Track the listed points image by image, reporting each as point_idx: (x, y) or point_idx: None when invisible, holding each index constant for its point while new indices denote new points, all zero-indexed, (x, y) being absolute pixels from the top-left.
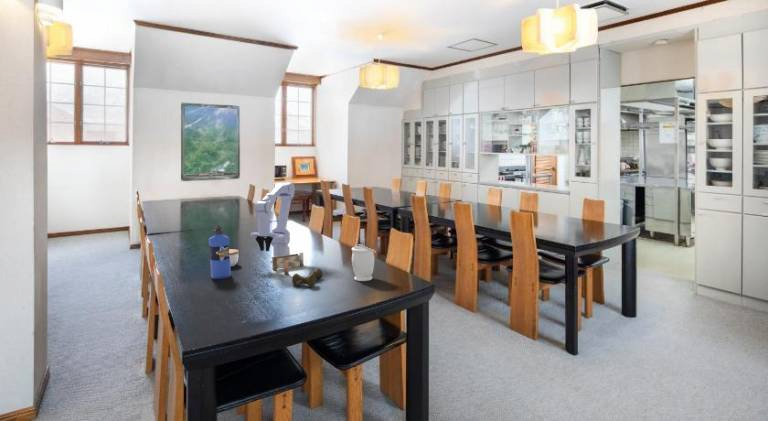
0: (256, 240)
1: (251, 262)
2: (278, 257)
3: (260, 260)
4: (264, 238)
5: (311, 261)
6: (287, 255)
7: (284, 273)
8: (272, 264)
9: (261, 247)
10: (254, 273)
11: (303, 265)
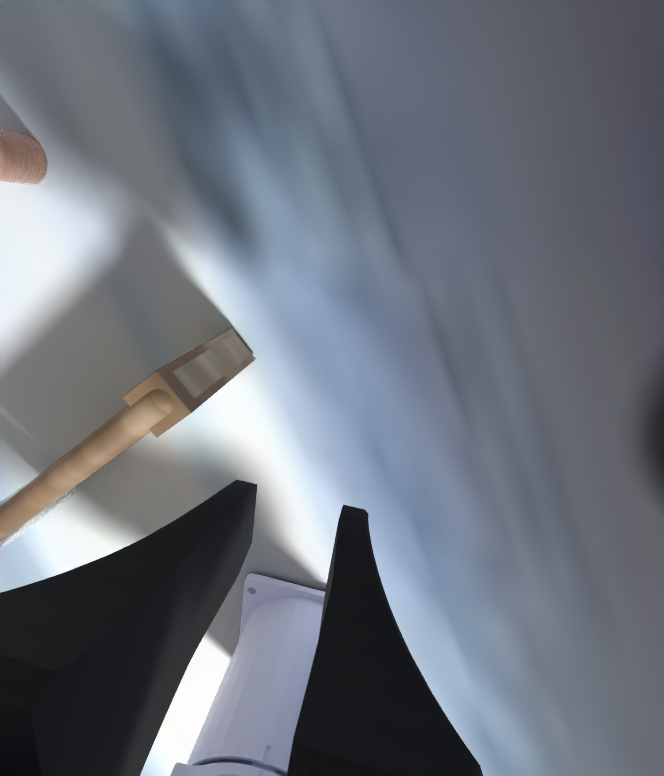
0: (443, 723)
1: (583, 634)
2: (114, 416)
3: (507, 686)
4: (15, 699)
5: None
6: (35, 483)
7: (25, 142)
8: (231, 372)
9: (334, 554)
10: (405, 186)
11: None
